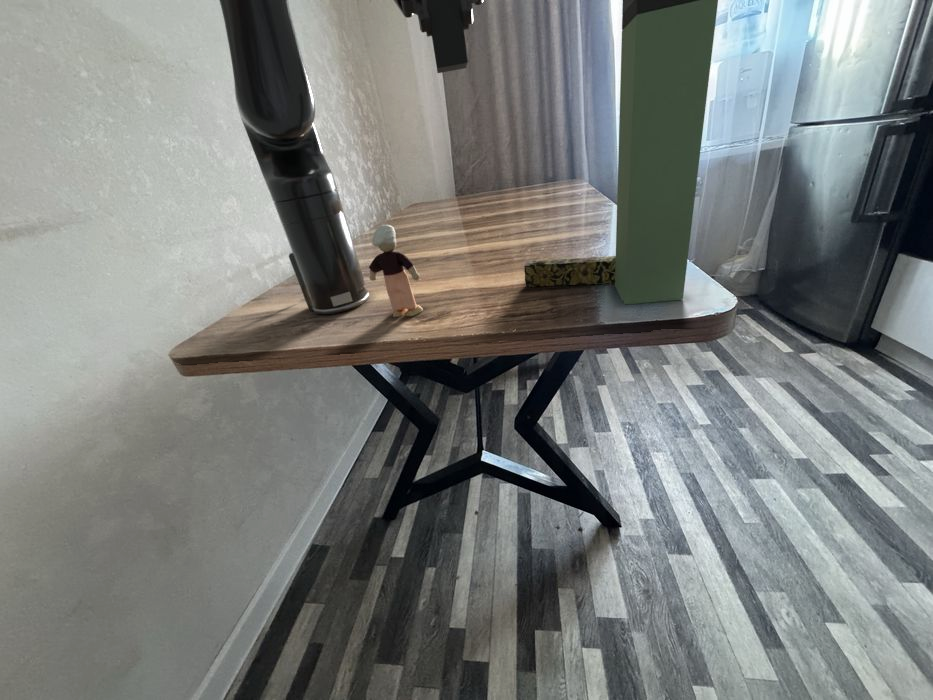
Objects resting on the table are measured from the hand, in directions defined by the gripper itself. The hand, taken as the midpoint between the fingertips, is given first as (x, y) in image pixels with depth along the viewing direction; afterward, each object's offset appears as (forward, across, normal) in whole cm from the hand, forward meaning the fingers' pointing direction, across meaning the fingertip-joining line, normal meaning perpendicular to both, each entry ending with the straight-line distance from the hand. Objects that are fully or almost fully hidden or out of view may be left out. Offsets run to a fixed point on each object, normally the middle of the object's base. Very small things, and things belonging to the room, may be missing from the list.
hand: (447, 24), depth 47 cm
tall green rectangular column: (+34, +20, +13) cm, 41 cm away
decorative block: (+28, +14, +19) cm, 37 cm away
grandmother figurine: (+29, -12, +19) cm, 36 cm away
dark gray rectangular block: (+2, 0, +4) cm, 5 cm away
